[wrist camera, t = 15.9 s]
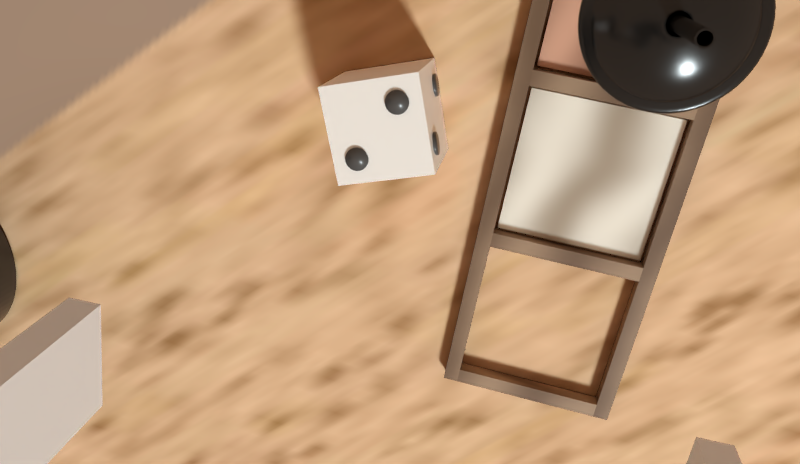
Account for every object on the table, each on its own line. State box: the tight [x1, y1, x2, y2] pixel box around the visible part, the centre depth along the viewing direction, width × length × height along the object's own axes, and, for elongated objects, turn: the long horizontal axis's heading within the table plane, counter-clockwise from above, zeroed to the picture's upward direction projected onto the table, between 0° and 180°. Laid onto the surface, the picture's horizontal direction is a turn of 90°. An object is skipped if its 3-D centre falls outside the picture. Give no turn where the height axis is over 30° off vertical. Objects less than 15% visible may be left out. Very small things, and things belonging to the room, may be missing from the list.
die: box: [318, 58, 448, 186], centre depth 44 cm, size 6×6×6 cm
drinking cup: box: [578, 0, 776, 114], centre depth 33 cm, size 8×8×20 cm
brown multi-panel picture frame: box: [444, 0, 719, 420], centre depth 46 cm, size 12×34×1 cm, turn 170°
